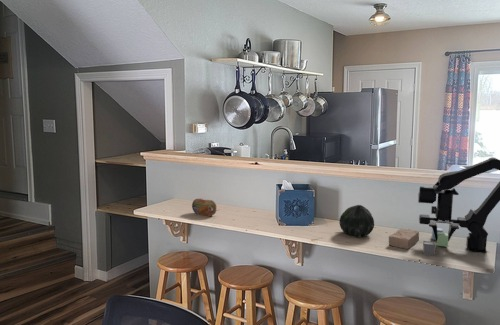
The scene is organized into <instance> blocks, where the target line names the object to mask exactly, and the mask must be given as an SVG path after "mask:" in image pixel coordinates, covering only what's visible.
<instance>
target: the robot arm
mask: <svg viewBox="0 0 500 325" xmlns="http://www.w3.org/2000/svg"><path fill="white" fill-rule="evenodd" d="M494 169H495V170H497V171H500V159H498V158H496V157H493V156H492V157H489V158H488V159H485V160H483V161H480V162H478V163H476V164H473V165H470V166H468V167H466V168H463V169H460V170H455V171H449V172H445V173H444V172H443V173H442V174H440V175H439V176H438V181H437V182H436V183H434V185H433V186H432V187H430V186H428V187H427V186H424V185H423V186H421V185H420V186H419V190H418V195H417V197H418V198H417V202H418V203H419V204H432V205H431V209H430V210H431V211H430V214H432V215H435V217H431V216H430V214H419V216H418V222H419V224H420V225H428V226H429V228H431V229H432V228H433V231H434V234H435V238H436V240H435V241H437V238H438V237H437V228H438V225H437V223H438V224H448V225H449V227H448V232H447V234H448V243H449V241H450V240H451V238H452V236H453V235H454V234H455V232H456V230H459V229H460V228H465V229H467V231H469V232H468V236H466V240H465V241H466V244H465V245H466V248H467V250H468V251H469V252H479V253H487V252H488V251H487V243H488V242H487V241H488V236H489V233H488V231H487V230H486V229H485V227H484V226H485V224H486V222H487V218H488V216H489V215H490V213H492V212H493V210H494V208H495V207H496V206H497V205H498V204H499V202H500V181H498V183H497V184H496V186H495V187H494V188H493V190H492V191H490V193H489V194H488V196H486V198H485V199H484V200H483V202H482V203H481V204H480V205H479V207H478V208H476V209H474V210H473V209H471V208H470V210H469V211H468V213H467V214H466V215H464V217H457V218H456V219H455V218H454V219H453V218H452V217H453V216H452V215H453V201H454V196H459V192H458V191H457V190H456V188H455V187H457V186H458V185H459V184H460V183H462V182H464V181H466V180H468V179H471V178H473V177H475V176H478V175H481V174H484V173H487V172H490V171H491V170H494ZM436 202H437V203H436ZM434 203H436V204H437V205H436V206H434V205H433V204H434Z"/></svg>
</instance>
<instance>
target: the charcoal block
mask: <svg viewBox="0 0 500 325" xmlns="http://www.w3.org/2000/svg"><path fill="white" fill-rule="evenodd" d="M422 244H423V246H422V254H423V255H424V256H425V255H426V256H435V255H436V254H435V253H436V252H435V251H436V243H435V241H429V240H423V242H422Z"/></svg>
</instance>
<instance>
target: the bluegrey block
mask: <svg viewBox="0 0 500 325" xmlns="http://www.w3.org/2000/svg"><path fill="white" fill-rule="evenodd" d="M437 232H439V233H444V230H443V227H437ZM431 239H432V240H433V241H436V238H435V234H434V231H433V228H432V227H431Z"/></svg>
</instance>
